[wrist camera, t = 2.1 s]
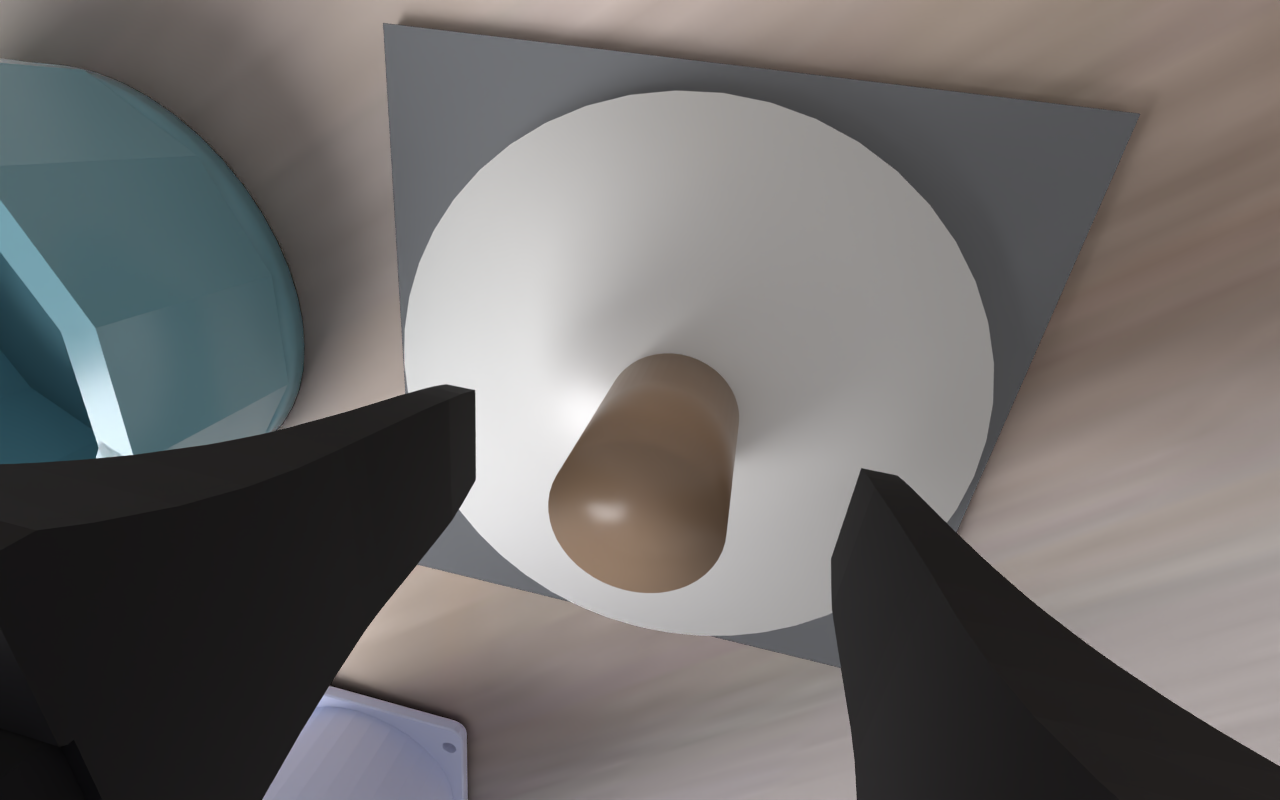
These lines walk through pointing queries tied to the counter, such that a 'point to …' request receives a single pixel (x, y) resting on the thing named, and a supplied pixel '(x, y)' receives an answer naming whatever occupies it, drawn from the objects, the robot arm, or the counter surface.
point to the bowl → (130, 279)
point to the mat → (863, 110)
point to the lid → (697, 354)
